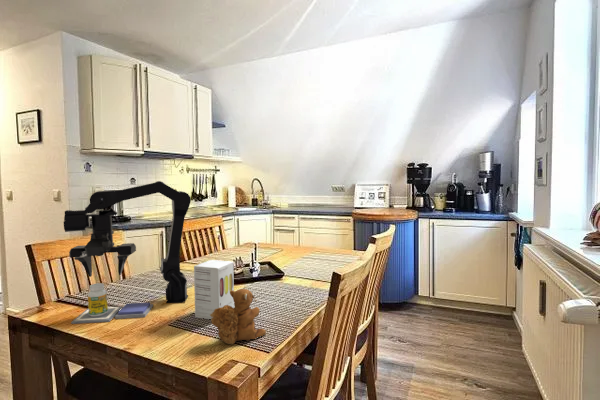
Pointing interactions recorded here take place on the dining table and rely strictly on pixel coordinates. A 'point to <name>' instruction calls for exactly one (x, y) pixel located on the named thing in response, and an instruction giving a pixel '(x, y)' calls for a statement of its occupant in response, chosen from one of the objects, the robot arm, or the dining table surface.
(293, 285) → the dining table surface
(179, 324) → the dining table surface
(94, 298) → the supplement bottle
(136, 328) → the dining table surface
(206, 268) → the supplement box
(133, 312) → the ink pad
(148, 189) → the robot arm
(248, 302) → the stuffed squirrel
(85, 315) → the marked board
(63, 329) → the dining table surface
